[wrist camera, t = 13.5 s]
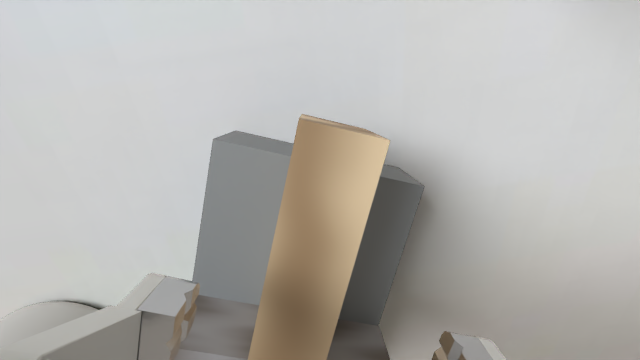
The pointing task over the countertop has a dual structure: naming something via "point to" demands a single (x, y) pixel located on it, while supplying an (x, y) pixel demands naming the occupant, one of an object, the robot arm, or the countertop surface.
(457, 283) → the countertop surface
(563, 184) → the countertop surface
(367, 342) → the grey and tan blocks
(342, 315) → the board
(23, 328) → the cylinder vase
